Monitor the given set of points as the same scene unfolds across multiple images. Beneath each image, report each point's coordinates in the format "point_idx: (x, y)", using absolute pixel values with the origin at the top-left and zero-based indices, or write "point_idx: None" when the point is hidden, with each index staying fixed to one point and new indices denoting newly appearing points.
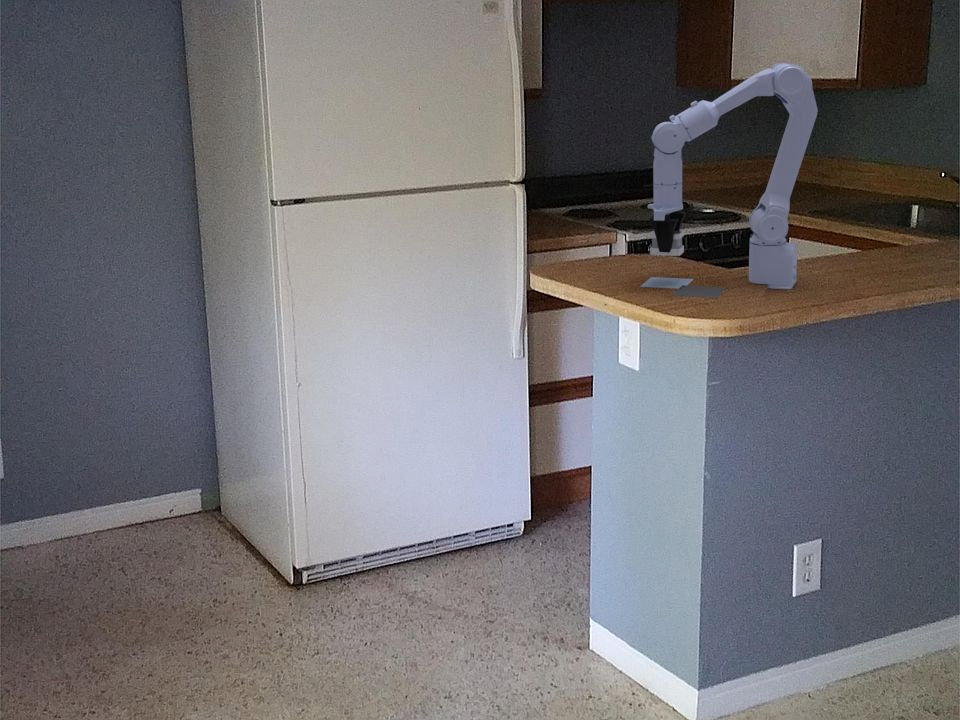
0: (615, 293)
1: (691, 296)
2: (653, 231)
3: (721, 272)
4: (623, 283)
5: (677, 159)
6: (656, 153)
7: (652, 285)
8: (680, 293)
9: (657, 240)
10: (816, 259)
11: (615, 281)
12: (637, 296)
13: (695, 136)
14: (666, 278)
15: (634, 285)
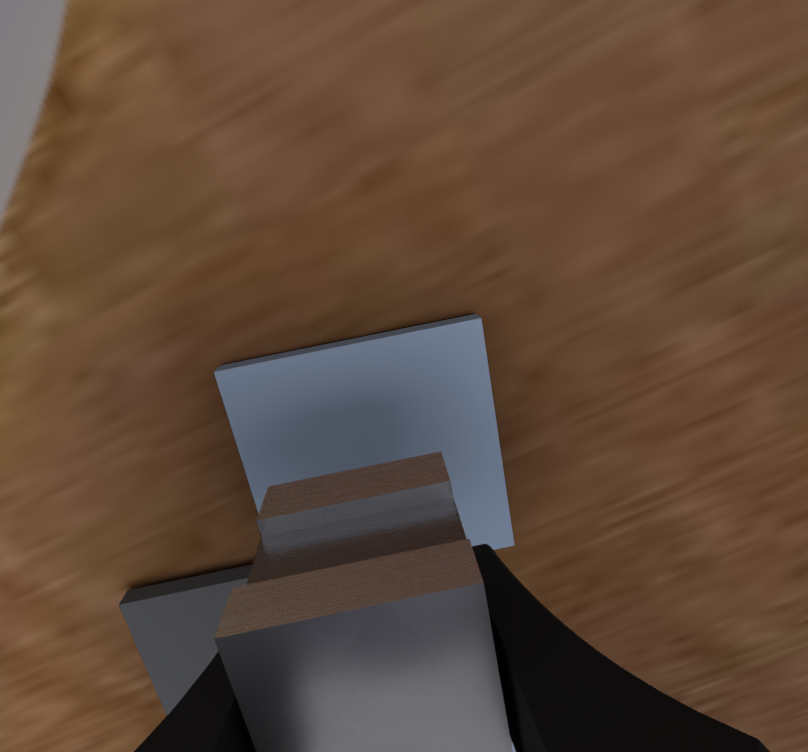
0: (96, 253)
1: (154, 684)
2: (329, 629)
3: (796, 536)
4: (365, 169)
5: None
6: None
7: (274, 424)
8: (181, 621)
9: (205, 674)
10: None
11: (396, 86)
12: (106, 405)
13: None
14: (475, 416)
15: (345, 262)
